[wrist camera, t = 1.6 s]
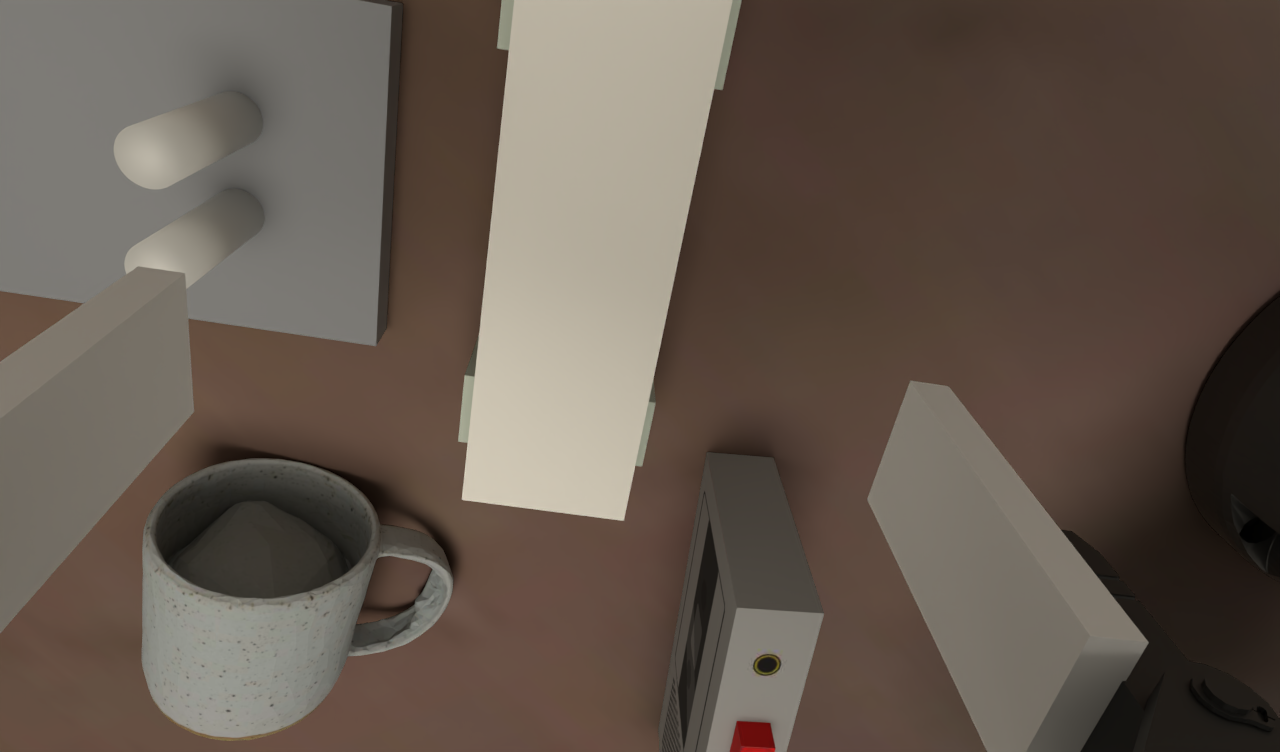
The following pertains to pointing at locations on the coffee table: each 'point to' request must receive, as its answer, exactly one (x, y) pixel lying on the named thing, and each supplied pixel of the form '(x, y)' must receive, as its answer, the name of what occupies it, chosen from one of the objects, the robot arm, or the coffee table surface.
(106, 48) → the peg stand
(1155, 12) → the coffee table surface
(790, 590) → the cassette player
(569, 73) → the shelf board
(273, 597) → the ceramic mug
